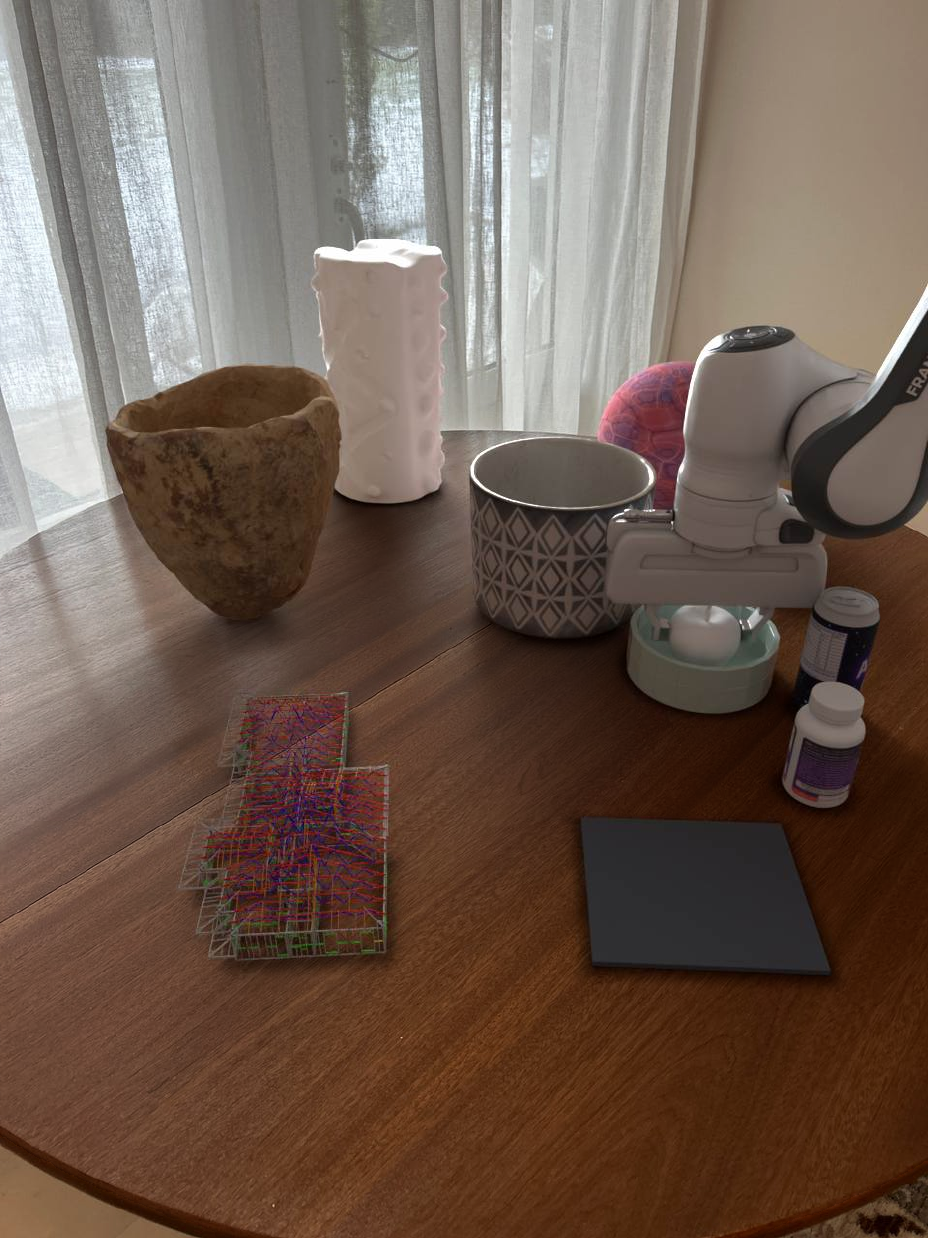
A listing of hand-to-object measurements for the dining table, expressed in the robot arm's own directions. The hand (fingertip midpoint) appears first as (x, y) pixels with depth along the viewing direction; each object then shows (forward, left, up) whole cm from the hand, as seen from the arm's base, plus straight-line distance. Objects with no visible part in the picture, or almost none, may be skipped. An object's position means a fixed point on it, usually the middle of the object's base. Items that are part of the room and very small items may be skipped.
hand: (703, 639), depth 91 cm
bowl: (+48, -10, -4) cm, 49 cm away
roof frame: (+36, +23, -4) cm, 43 cm away
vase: (+37, -46, -4) cm, 59 cm away
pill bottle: (-7, +17, -4) cm, 19 cm away
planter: (+14, -12, -4) cm, 19 cm away
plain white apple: (0, 0, -3) cm, 3 cm away
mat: (+5, +29, -4) cm, 30 cm away
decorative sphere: (-2, -38, -4) cm, 38 cm away
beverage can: (-11, +6, -4) cm, 13 cm away
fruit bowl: (0, 0, -4) cm, 4 cm away
